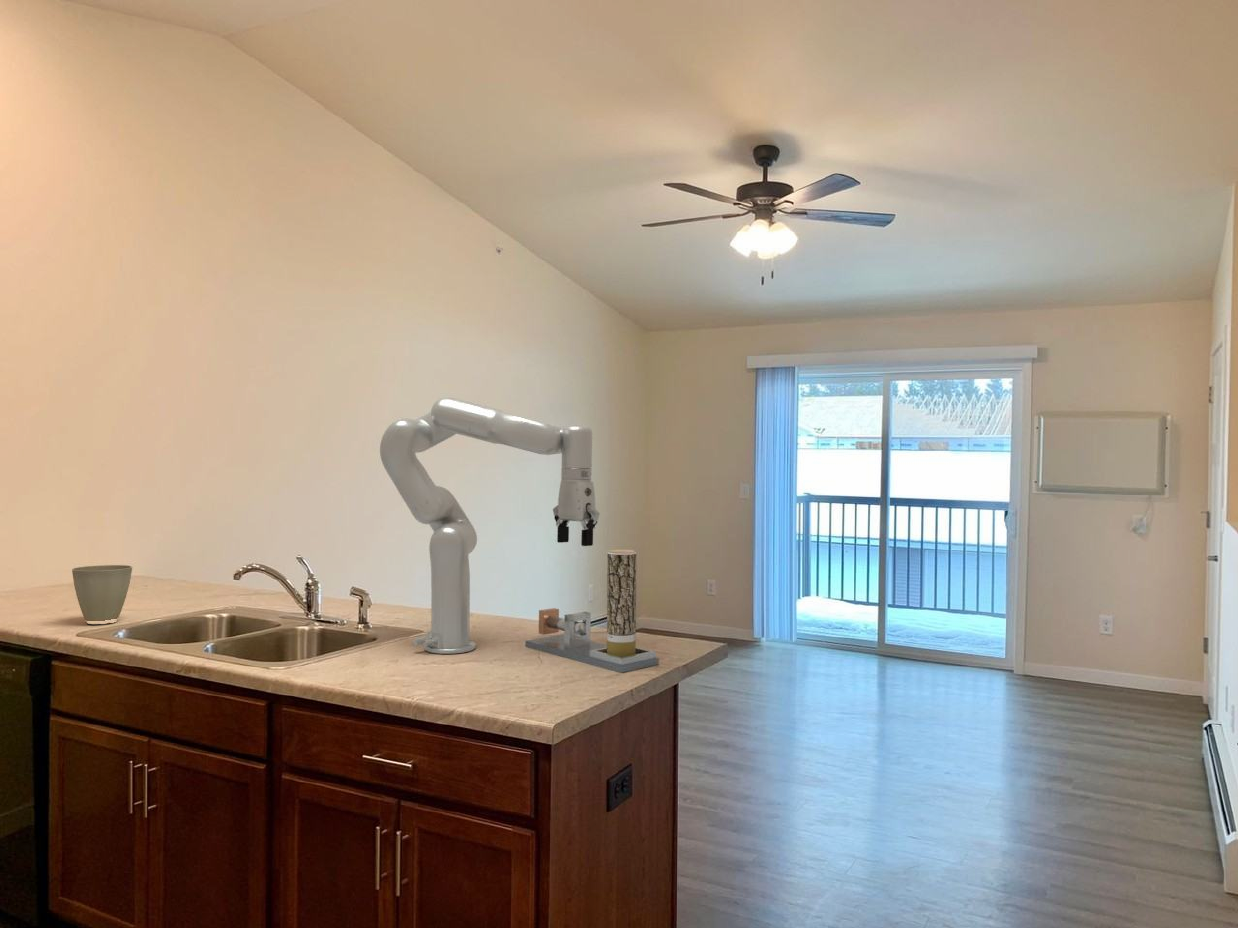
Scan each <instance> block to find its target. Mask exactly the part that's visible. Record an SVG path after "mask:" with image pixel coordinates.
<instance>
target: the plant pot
mask: <svg viewBox="0 0 1238 928" xmlns="http://www.w3.org/2000/svg"><path fill="white" fill-rule="evenodd" d="M132 571H133V566H132V565H127V564H126V565H125V564H103V565H99V564H98V565H89V566H88V565H87V566H85V565H84V566H79V567H77V566H76V567H73V568H72V569H71V573H72V579H73V586H74V590H75V594H76V599H77V602H78V606H79V608H80V611H81V614H82V616H83V618H84V621H85V620H86V621H105V620H111V619H117V618H118V619H119V617H120V615H121V612H122V610H123V607H124V605H125V602H126V598H127V594H128V591H129V587H130V582H131V577H132ZM86 621H85V622H86Z"/></svg>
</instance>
